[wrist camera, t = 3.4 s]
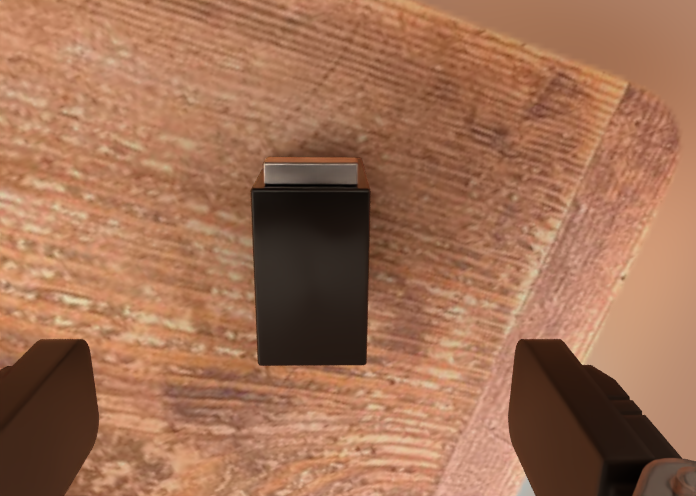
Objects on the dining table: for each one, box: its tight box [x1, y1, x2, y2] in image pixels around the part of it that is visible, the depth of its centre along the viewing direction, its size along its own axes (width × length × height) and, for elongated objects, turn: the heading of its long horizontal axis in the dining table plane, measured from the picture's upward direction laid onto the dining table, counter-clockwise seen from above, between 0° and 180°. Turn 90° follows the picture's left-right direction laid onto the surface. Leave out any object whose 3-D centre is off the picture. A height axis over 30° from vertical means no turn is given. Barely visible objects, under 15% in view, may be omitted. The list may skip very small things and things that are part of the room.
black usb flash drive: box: [251, 157, 371, 366], centre depth 18 cm, size 6×3×4 cm, turn 179°
